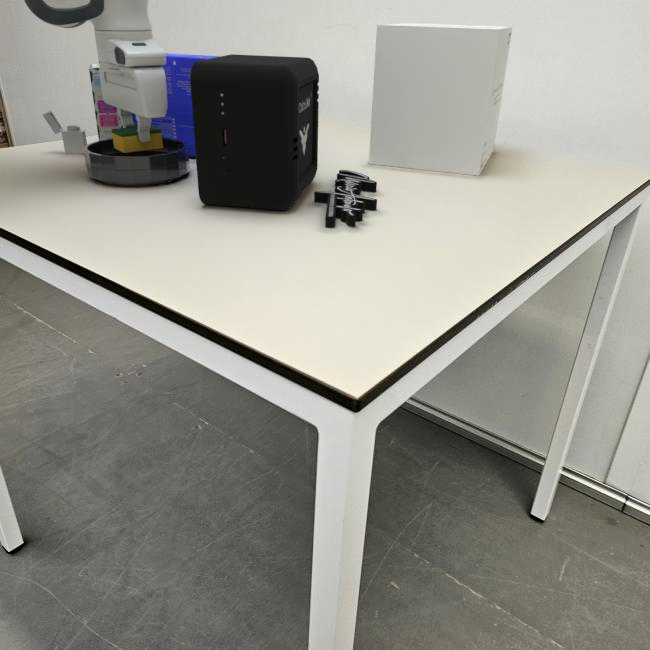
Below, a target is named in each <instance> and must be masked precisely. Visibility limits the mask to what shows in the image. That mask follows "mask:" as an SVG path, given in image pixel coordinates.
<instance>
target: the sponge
mask: <svg viewBox="0 0 650 650" xmlns="http://www.w3.org/2000/svg"><path fill="white" fill-rule="evenodd" d="M111 130H112V136H113V143H114V148H115V149H117V150H119V151H121V152H123V153H128V152H136V151H145V150H153V149H161V148H163V143H162V134H161V129H159V128H156V127H153V126H150V130H149V131H150V141H148V142H141V141H139V140H138V139H137V134H136V130H138V127H128V128H118V129H111Z"/></svg>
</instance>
